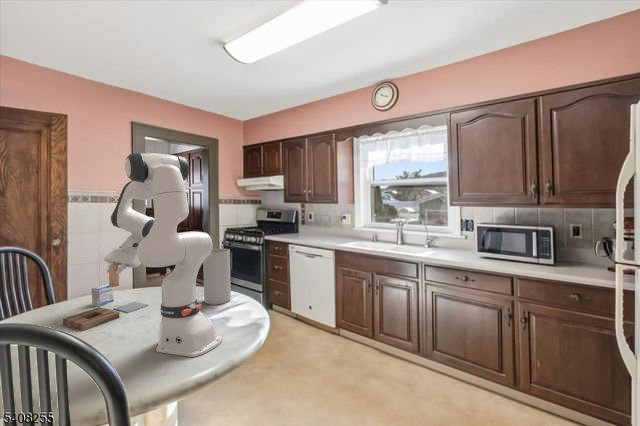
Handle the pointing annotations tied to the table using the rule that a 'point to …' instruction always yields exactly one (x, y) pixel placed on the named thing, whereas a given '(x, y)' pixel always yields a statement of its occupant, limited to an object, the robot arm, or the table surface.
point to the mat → (130, 307)
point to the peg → (113, 276)
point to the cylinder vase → (217, 277)
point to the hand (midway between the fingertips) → (112, 273)
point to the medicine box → (102, 295)
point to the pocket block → (90, 318)
